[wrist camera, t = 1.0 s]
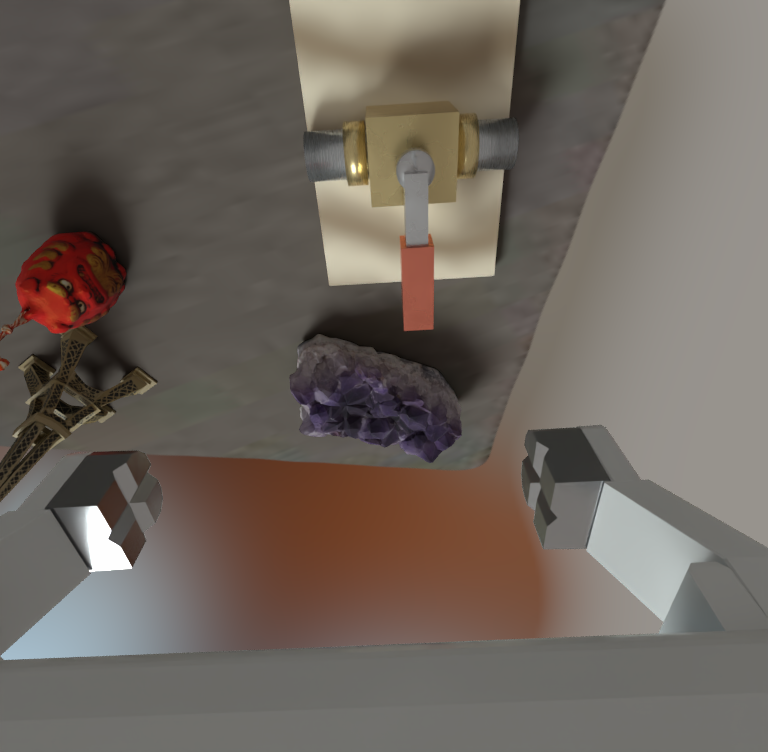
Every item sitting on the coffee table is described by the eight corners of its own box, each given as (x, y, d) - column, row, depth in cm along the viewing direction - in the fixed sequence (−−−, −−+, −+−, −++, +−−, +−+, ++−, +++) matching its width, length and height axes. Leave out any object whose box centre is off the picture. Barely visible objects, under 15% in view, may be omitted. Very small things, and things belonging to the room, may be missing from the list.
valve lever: (394, 144, 32) (396, 154, 30) (431, 142, 32) (436, 152, 30) (400, 311, 40) (402, 331, 38) (430, 310, 40) (434, 329, 38)
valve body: (305, 109, 36) (295, 123, 32) (509, 95, 36) (530, 106, 31) (316, 188, 40) (308, 211, 35) (502, 176, 40) (519, 198, 35)
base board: (286, -43, 32) (282, -45, 31) (520, -61, 31) (526, -64, 30) (330, 279, 46) (329, 285, 45) (490, 269, 46) (494, 275, 45)
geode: (479, 355, 53) (495, 424, 46) (440, 417, 61) (449, 484, 54) (301, 315, 48) (289, 385, 41) (284, 388, 56) (272, 457, 49)
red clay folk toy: (145, 289, 47) (67, 381, 35) (85, 307, 48) (-10, 401, 36) (97, 216, 42) (-11, 293, 30) (32, 238, 43) (-97, 320, 31)
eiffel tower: (74, 318, 49) (-131, 522, 29) (157, 381, 54) (32, 591, 34) (19, 365, 52) (-198, 576, 32) (102, 421, 58) (-41, 631, 38)
